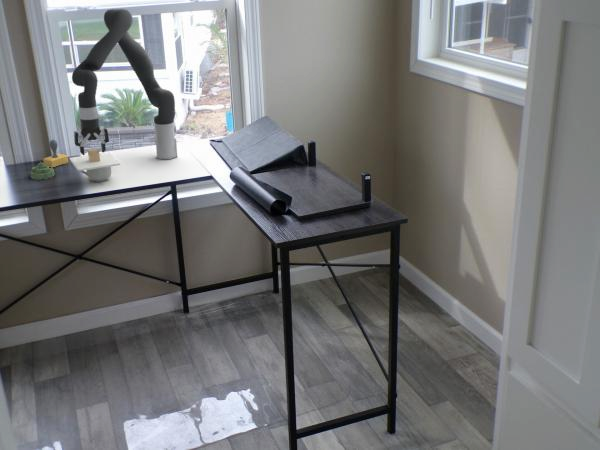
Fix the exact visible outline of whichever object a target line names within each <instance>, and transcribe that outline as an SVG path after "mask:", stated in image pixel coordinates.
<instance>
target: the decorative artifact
mask: <svg viewBox="0 0 600 450" xmlns="http://www.w3.org/2000/svg"><path fill="white" fill-rule="evenodd" d="M29 173H30V178H31V179H32V180H37V181H38V180H39V181H40V180H41V181H42V179H44V180H49V179H52V178H54V177H55V176H54V175H55V169H54V168H49V165H45V164H44V162H42V161H39V162H38V163H37V165H36V166H32V167H31V171H29ZM53 176H54V177H53ZM48 178H49V179H48Z"/></svg>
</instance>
